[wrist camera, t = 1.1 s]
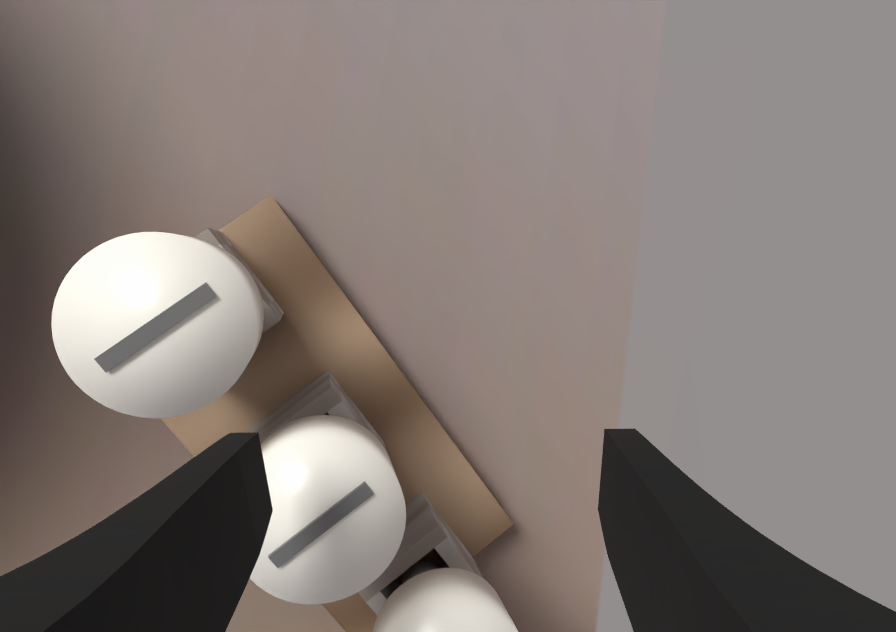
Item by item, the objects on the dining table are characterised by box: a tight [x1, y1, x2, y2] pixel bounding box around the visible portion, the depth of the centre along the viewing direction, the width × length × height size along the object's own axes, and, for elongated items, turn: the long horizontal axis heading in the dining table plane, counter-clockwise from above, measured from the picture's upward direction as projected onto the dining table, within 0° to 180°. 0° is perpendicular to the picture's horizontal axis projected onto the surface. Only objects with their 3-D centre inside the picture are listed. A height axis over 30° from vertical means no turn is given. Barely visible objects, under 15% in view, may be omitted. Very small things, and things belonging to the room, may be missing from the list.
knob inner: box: [51, 232, 264, 418], centre depth 16 cm, size 4×4×6 cm
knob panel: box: [160, 195, 513, 632], centre depth 22 cm, size 17×8×4 cm, turn 35°
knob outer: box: [373, 562, 518, 632], centre depth 19 cm, size 4×4×6 cm
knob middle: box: [250, 415, 406, 604], centre depth 17 cm, size 4×4×6 cm
